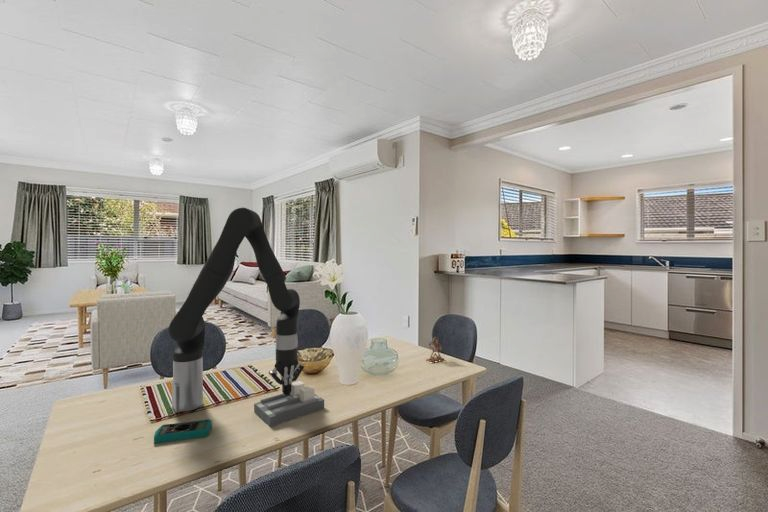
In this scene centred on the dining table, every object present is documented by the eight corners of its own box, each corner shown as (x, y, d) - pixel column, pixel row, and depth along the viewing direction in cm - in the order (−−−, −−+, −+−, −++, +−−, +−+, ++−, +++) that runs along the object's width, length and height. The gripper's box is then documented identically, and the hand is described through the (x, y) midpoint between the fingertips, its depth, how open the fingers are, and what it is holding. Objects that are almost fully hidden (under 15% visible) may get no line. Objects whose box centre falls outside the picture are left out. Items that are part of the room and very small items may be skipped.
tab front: (304, 403, 123) (304, 391, 123) (299, 399, 125) (299, 388, 125) (314, 399, 126) (314, 388, 125) (309, 396, 128) (309, 385, 128)
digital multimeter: (159, 432, 110) (159, 423, 110) (212, 426, 114) (212, 417, 114) (151, 446, 103) (151, 436, 103) (208, 438, 107) (207, 428, 107)
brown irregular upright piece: (439, 358, 183) (439, 335, 183) (444, 360, 180) (445, 336, 179) (425, 361, 178) (426, 337, 178) (430, 363, 175) (431, 339, 175)
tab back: (294, 397, 127) (294, 386, 127) (290, 394, 130) (290, 383, 130) (304, 394, 130) (304, 383, 130) (300, 391, 133) (300, 380, 132)
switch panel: (270, 426, 113) (270, 414, 113) (254, 412, 123) (254, 400, 123) (324, 408, 126) (324, 397, 126) (306, 396, 136) (306, 385, 136)
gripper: (298, 340, 134) (298, 386, 134) (264, 347, 125) (264, 395, 126) (308, 345, 128) (308, 392, 129) (273, 352, 119) (273, 403, 120)
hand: (286, 394), depth 127 cm, fingers closed
